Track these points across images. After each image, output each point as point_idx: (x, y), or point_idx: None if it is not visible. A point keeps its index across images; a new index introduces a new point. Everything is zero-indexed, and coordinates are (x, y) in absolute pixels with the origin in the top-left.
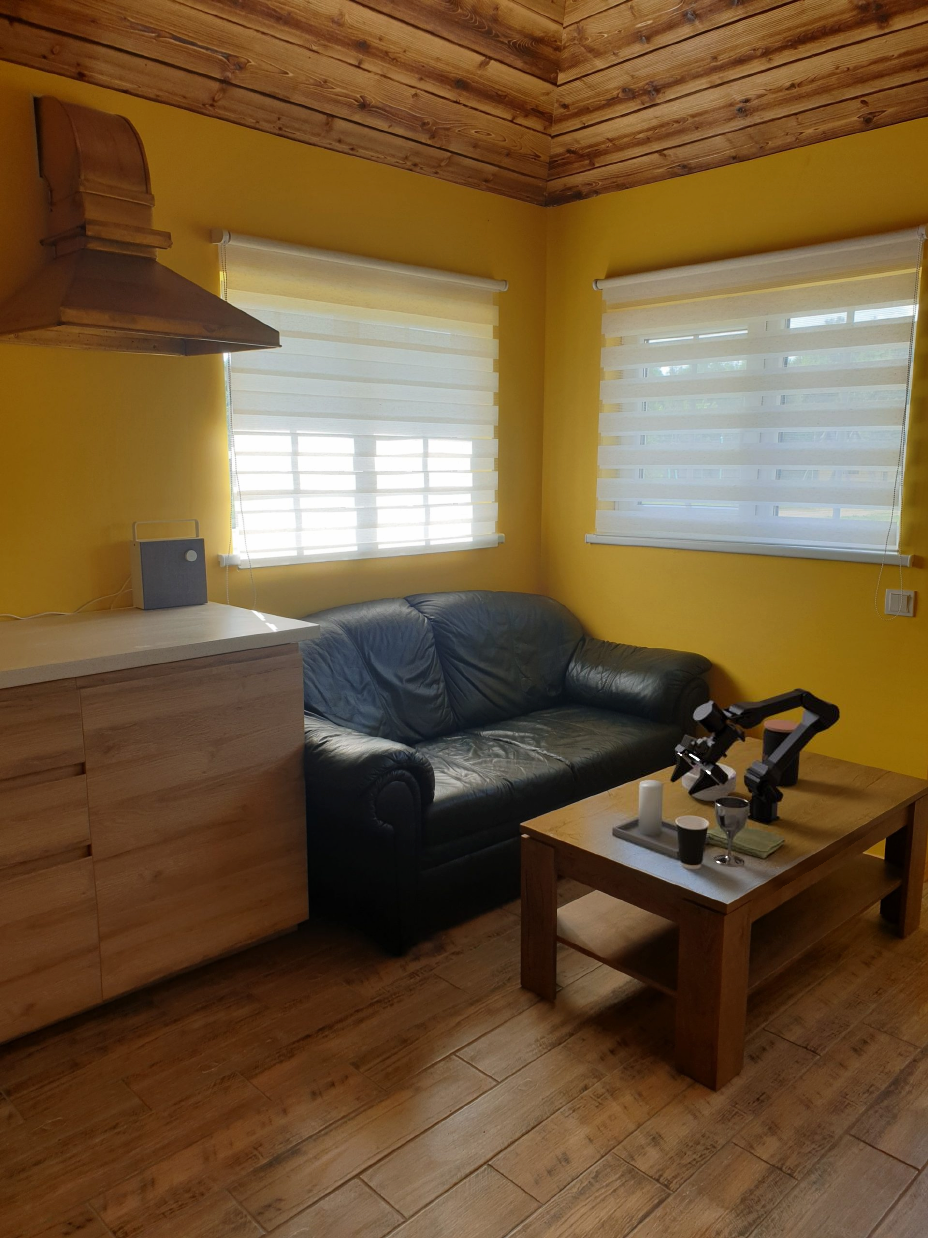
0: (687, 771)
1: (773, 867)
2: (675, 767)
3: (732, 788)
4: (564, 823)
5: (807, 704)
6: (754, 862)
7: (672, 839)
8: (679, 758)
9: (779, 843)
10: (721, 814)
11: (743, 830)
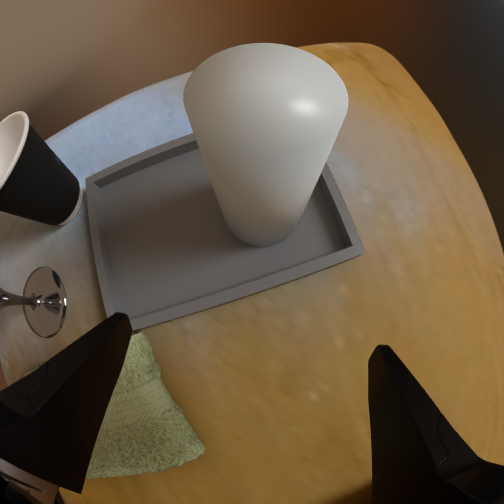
0: (375, 492)
1: (7, 357)
2: (443, 421)
3: None
4: (385, 84)
5: None
6: (25, 345)
7: (176, 238)
8: (477, 488)
9: None
10: None
11: (103, 440)
